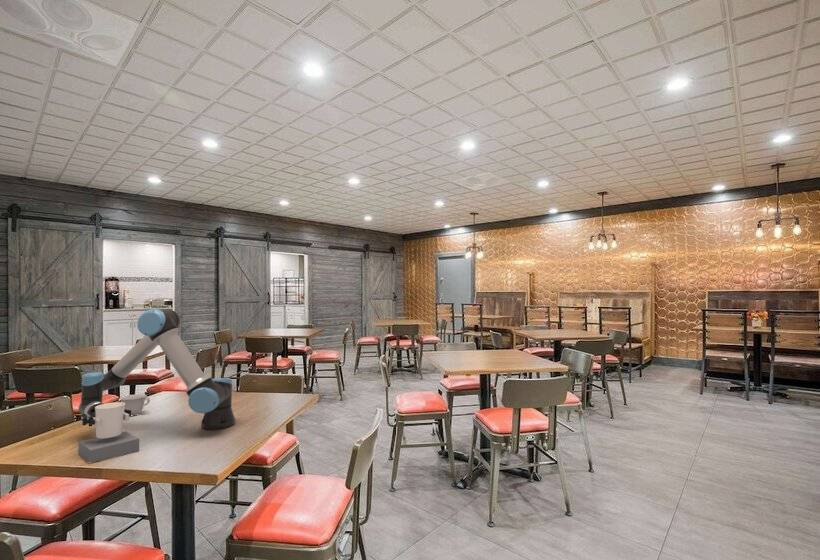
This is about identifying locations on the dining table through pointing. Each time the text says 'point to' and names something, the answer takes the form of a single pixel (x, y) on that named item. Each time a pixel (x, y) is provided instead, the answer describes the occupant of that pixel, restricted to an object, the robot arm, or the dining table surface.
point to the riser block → (108, 447)
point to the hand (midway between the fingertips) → (113, 420)
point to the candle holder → (109, 419)
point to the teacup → (135, 402)
